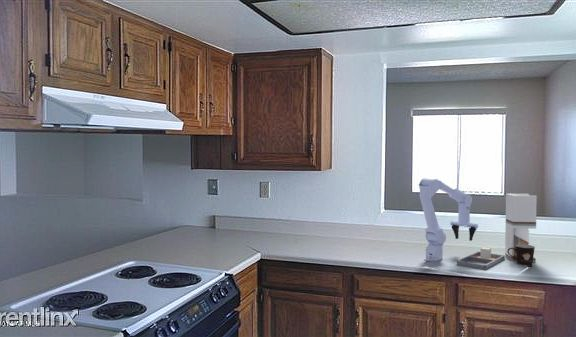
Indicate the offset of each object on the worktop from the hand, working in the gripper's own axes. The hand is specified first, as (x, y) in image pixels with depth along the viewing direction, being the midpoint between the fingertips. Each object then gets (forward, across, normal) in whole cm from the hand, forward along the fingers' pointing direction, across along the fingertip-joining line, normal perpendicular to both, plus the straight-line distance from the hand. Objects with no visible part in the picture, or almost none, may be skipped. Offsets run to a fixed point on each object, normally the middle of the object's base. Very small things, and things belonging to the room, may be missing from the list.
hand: (463, 239), depth 240 cm
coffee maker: (+10, -25, -13) cm, 30 cm away
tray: (+9, -13, +10) cm, 19 cm away
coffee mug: (+10, -29, -1) cm, 31 cm away
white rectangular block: (+8, -13, +4) cm, 16 cm away
